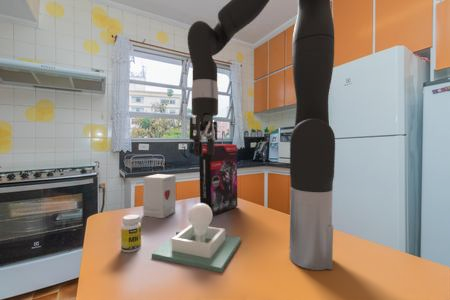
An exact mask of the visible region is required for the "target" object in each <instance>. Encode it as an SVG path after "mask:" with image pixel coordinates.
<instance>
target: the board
mask: <svg viewBox="0 0 450 300" xmlns="http://www.w3.org/2000/svg"><path fill="white" fill-rule="evenodd" d="M175 233H176V234H175V236H173V237H172V238H171V239H169V240H168V241H167V242H165V243H164V244H163V245H161V246H159V248H157V249H156V250H154V251H153V252H151V258H153V259H157V260H162V261H167V262H171V263H176V264H180V265H184V266H189V267H195V268H199V269H204V270H209V271H212V272H217V273H222V272H223V270H224V269H225V267H226V266H227V264H228V263H229V261H230V259H231V258H232V256H233V255H234V253H235V251H236V250H237V248H238V247H239V245H240V244H241V242H242V237H239V236H233V235H227V234H226V228H222V227H215V226H208V227H207V232H206V236H205V238H206V239H205V241H206V242H199V241H196V240H195V232H194V228H193V226H192V225H191V224H190V225H188V226H187V227H186V228H180V229H178V230H177V231H176V232H175Z"/></svg>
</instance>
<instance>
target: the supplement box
mask: <svg viewBox="0 0 450 300" xmlns="http://www.w3.org/2000/svg"><path fill="white" fill-rule="evenodd" d="M142 200H143V202H142V204H143V207H142V208H143V209H142V210H143V211H142V213H143V214H142V215H143V216H144V217H150V218H156V219H165V218H166V217H168V216H170V215H171V214H174V213H176V174H162V173H156V174H151V175H146V176H143V198H142Z"/></svg>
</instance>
